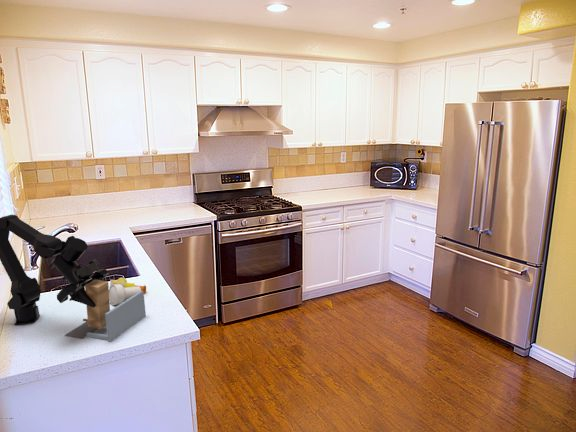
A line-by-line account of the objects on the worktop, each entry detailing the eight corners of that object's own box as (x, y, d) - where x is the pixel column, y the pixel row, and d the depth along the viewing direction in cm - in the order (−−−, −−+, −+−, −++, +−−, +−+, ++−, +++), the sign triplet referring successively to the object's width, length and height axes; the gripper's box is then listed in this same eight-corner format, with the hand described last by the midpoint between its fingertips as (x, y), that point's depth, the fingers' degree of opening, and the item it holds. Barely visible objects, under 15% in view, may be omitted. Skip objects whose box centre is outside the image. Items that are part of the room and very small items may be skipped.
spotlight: (105, 299, 165) (109, 281, 163) (133, 296, 173) (136, 278, 171) (113, 309, 159) (117, 290, 158) (141, 305, 168) (145, 287, 166)
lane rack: (85, 338, 138) (81, 310, 135) (122, 313, 155) (120, 288, 153) (110, 342, 135) (107, 314, 133) (145, 316, 153) (143, 291, 150)
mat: (64, 336, 139) (64, 335, 139) (90, 320, 150) (90, 319, 150) (82, 339, 137) (82, 338, 137) (107, 322, 148) (107, 321, 148)
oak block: (78, 324, 141) (74, 283, 137) (89, 317, 146) (86, 277, 142) (100, 328, 139) (97, 287, 135) (110, 322, 143) (108, 281, 140)
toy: (118, 275, 181) (107, 281, 171) (151, 279, 180) (142, 285, 170) (118, 287, 181) (107, 294, 171) (151, 291, 181) (141, 297, 171)
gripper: (59, 263, 128) (92, 301, 128) (101, 246, 146) (131, 279, 145) (42, 284, 132) (74, 321, 132) (85, 265, 150) (114, 297, 149)
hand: (100, 303), depth 139 cm, fingers closed on oak block, 5 cm apart
